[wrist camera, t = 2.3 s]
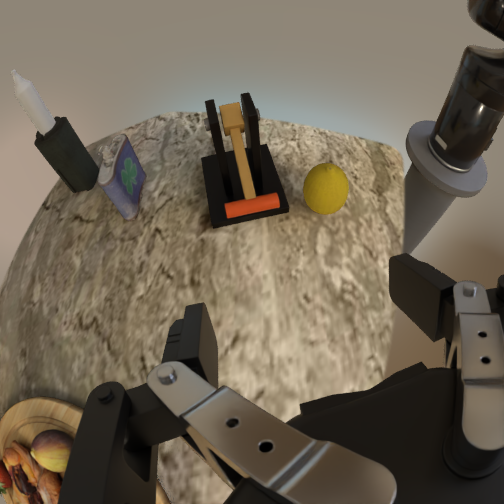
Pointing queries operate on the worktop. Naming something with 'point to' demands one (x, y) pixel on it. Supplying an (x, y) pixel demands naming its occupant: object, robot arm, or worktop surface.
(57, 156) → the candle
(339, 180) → the lemon
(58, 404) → the wooden plate
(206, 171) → the black lever stand
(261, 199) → the valve lever
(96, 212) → the worktop surface
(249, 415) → the robot arm
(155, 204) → the worktop surface
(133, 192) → the flask
